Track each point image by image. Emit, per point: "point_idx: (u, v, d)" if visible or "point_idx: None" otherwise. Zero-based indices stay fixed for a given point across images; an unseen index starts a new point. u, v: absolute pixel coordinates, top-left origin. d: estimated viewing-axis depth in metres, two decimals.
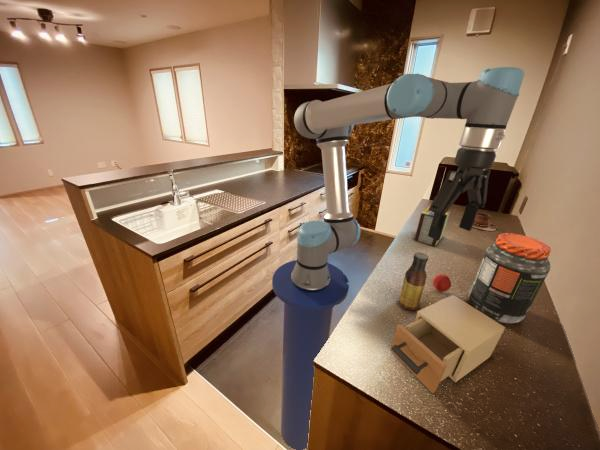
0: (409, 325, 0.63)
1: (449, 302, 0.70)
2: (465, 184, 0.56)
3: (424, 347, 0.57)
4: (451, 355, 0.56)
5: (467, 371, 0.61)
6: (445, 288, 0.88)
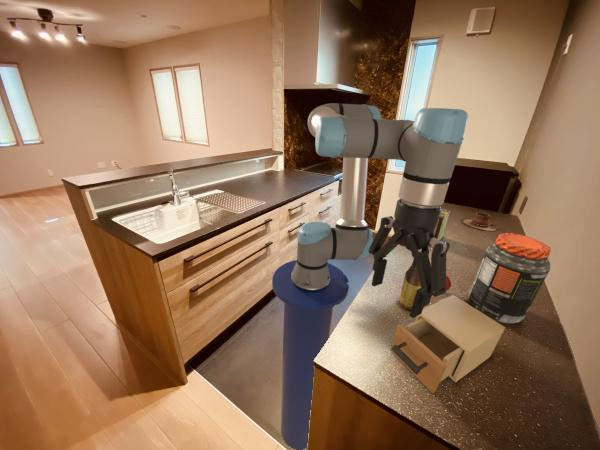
0: (409, 325, 0.63)
1: (449, 302, 0.70)
2: (426, 245, 0.47)
3: (424, 347, 0.57)
4: (451, 355, 0.56)
5: (467, 371, 0.61)
6: None
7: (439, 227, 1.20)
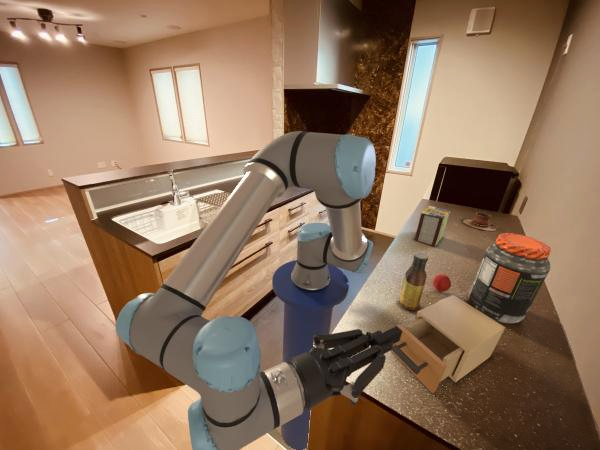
0: (409, 325, 0.63)
1: (449, 302, 0.70)
2: (345, 366, 0.41)
3: (424, 347, 0.57)
4: (451, 355, 0.56)
5: (467, 371, 0.61)
6: (445, 288, 0.88)
7: (439, 227, 1.20)
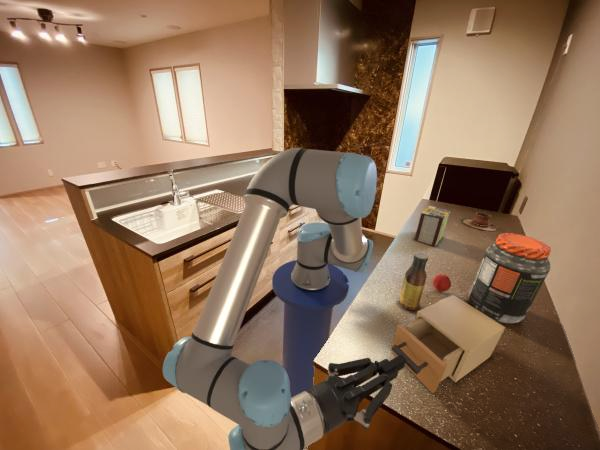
0: (409, 325, 0.63)
1: (449, 302, 0.70)
2: (357, 395, 0.48)
3: (424, 347, 0.57)
4: (451, 355, 0.56)
5: (467, 371, 0.61)
6: (445, 288, 0.88)
7: (439, 227, 1.20)
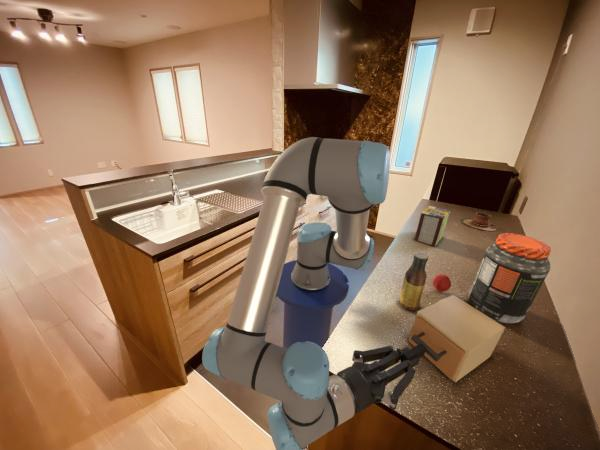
0: None
1: (449, 302, 0.70)
2: (383, 378, 0.51)
3: (443, 336, 0.60)
4: None
5: (467, 371, 0.61)
6: (445, 288, 0.88)
7: (439, 227, 1.20)
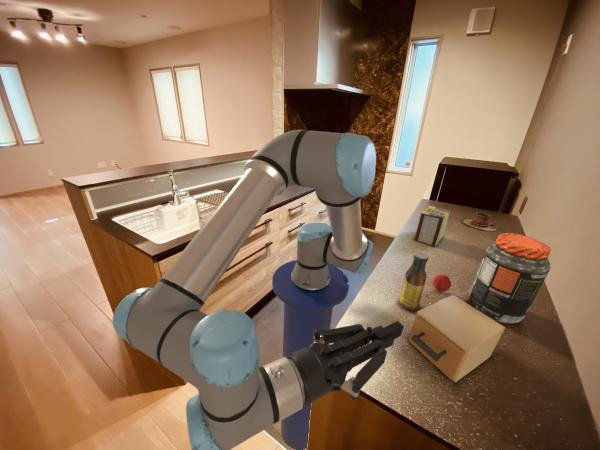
0: None
1: (449, 302, 0.70)
2: (346, 361, 0.41)
3: (443, 336, 0.60)
4: None
5: (467, 371, 0.61)
6: (445, 288, 0.88)
7: (439, 227, 1.20)
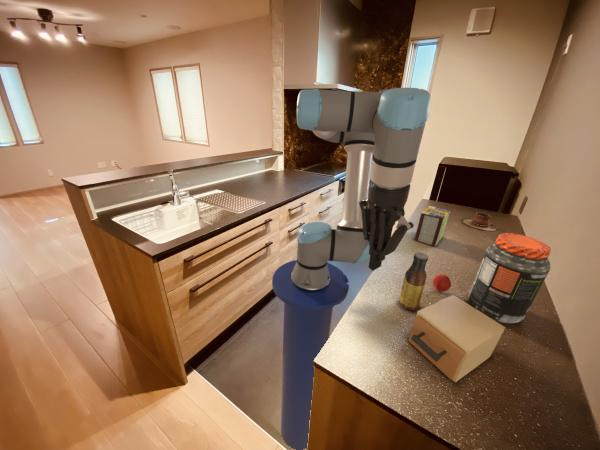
0: None
1: (449, 302, 0.70)
2: None
3: (443, 336, 0.60)
4: None
5: (467, 371, 0.61)
6: (445, 288, 0.88)
7: (439, 227, 1.20)
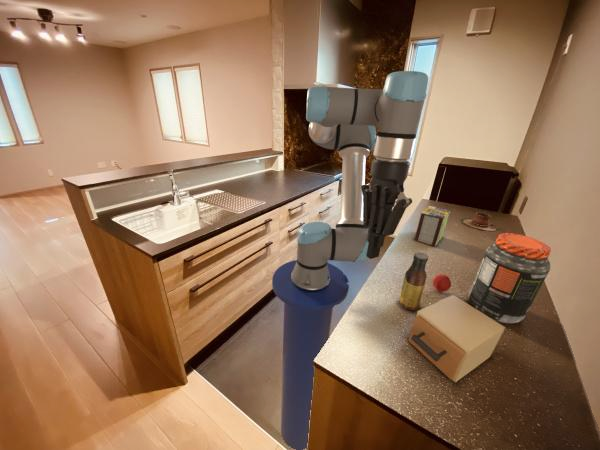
0: None
1: (449, 302, 0.70)
2: (394, 199, 0.54)
3: (443, 336, 0.60)
4: None
5: (467, 371, 0.61)
6: (445, 288, 0.88)
7: (439, 227, 1.20)
